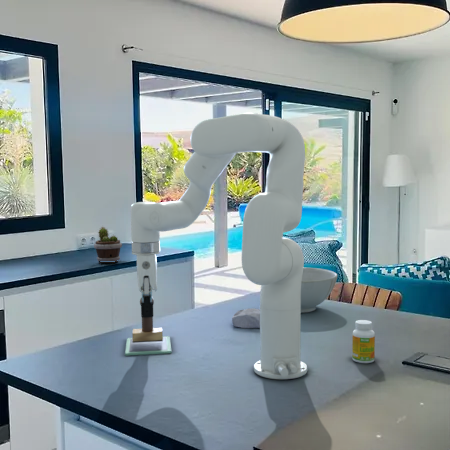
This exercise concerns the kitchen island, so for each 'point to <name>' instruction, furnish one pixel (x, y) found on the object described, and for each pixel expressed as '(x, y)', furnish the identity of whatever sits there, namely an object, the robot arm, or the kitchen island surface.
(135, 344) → the ink pad
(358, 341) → the supplement bottle
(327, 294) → the decorative bowl
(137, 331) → the stamp
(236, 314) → the stone block
